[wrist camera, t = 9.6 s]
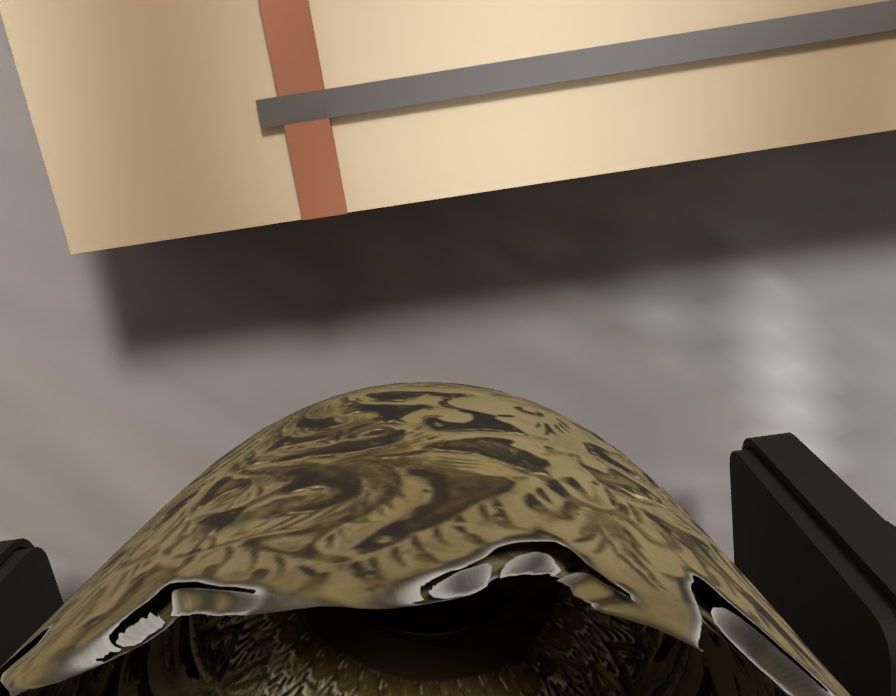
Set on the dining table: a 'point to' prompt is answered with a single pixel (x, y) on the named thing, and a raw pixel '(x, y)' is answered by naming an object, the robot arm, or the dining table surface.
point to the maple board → (416, 98)
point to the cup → (419, 571)
